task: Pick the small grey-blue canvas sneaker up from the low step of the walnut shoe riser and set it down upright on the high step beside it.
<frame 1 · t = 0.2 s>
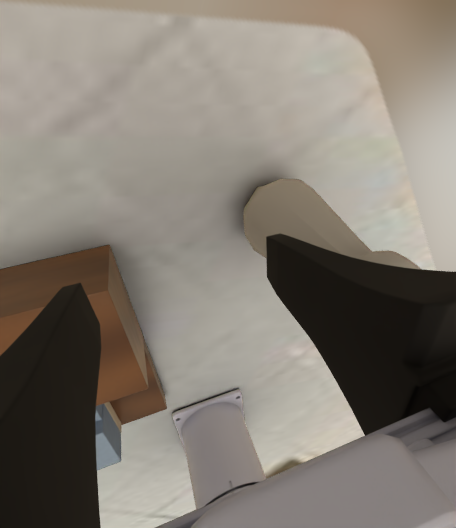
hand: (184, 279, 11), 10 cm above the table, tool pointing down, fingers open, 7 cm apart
salt shaker: (267, 207, 23), on the table
sneaker: (87, 405, 25), point 2 cm above the table, touching shoe riser
shoe riser: (68, 356, 24), on the table
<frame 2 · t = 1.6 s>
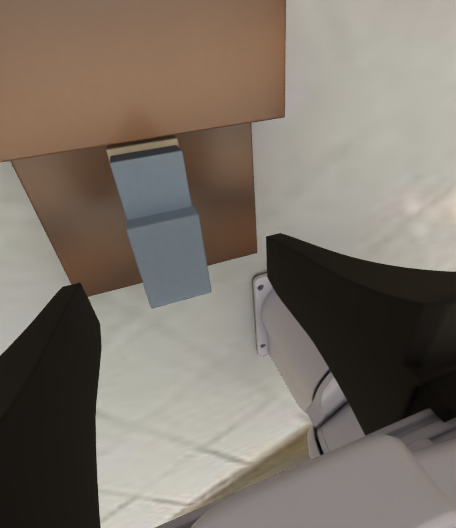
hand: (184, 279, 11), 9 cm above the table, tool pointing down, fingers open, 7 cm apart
sneaker: (158, 213, 17), point 2 cm above the table, touching shoe riser
shoe riser: (135, 123, 16), on the table
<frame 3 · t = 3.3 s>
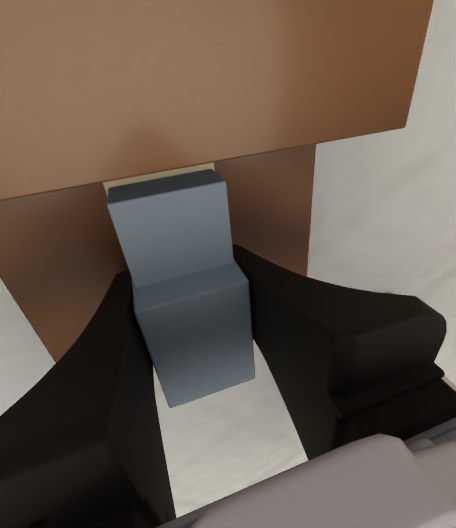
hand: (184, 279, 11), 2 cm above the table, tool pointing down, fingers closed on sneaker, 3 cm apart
sneaker: (178, 261, 12), point 2 cm above the table, touching gripper, shoe riser
shoe riser: (147, 133, 11), on the table
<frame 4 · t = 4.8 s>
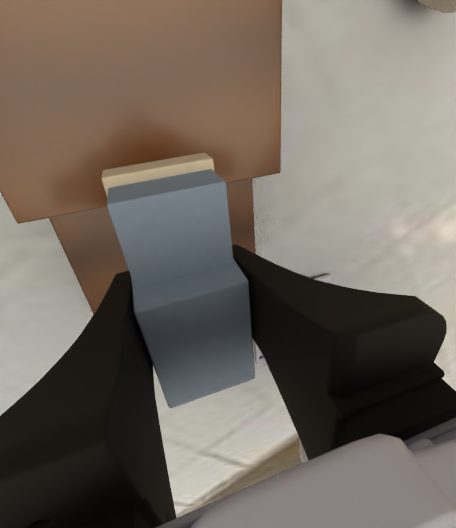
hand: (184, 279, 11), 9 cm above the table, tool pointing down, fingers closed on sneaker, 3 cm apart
sneaker: (178, 262, 12), point 9 cm above the table, touching gripper
shoe riser: (150, 167, 18), on the table
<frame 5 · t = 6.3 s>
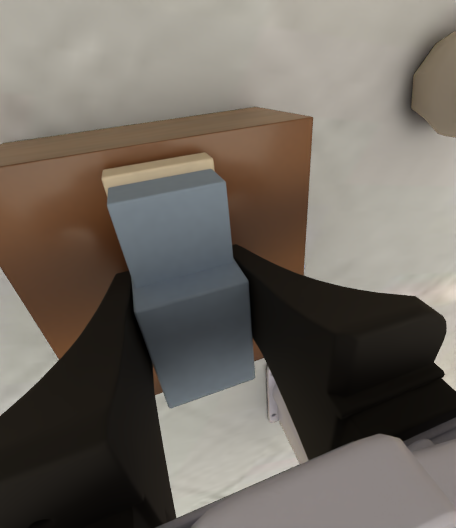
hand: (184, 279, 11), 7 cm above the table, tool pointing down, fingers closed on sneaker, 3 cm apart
salt shaker: (435, 80, 18), on the table
sneaker: (178, 262, 12), point 6 cm above the table, touching gripper
shoe riser: (176, 274, 19), on the table
when the fingers open (6 cm above the table, at t = 6.7 s): sneaker stays where it is, resting on shoe riser.
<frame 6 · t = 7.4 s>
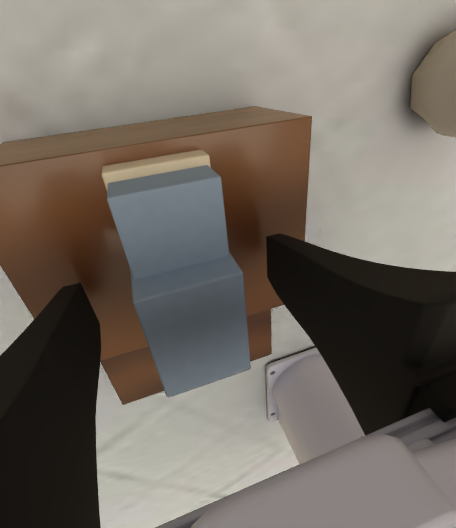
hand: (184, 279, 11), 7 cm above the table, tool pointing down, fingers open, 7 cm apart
salt shaker: (434, 80, 18), on the table
sneaker: (176, 256, 12), point 5 cm above the table, touching shoe riser
shoe riser: (175, 274, 19), on the table
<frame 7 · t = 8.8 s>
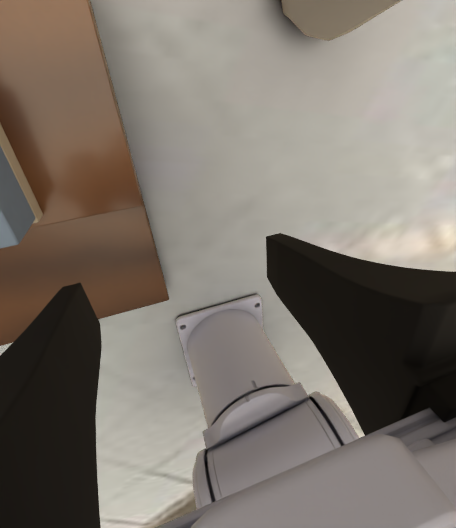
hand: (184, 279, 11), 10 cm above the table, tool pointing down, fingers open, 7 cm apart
shoe riser: (37, 196, 18), on the table
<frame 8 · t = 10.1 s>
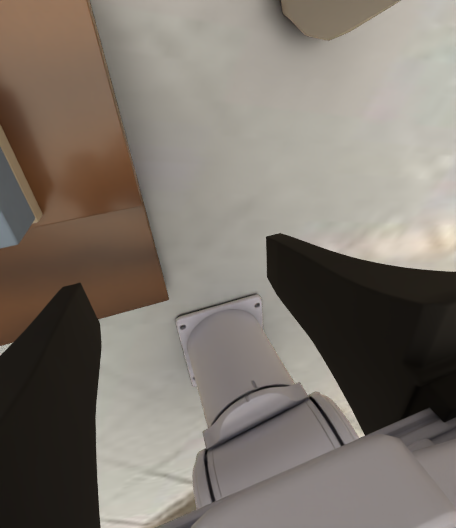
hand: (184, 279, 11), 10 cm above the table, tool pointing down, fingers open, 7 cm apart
shoe riser: (36, 196, 18), on the table
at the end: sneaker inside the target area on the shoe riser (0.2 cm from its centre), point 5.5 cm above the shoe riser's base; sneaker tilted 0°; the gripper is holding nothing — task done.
